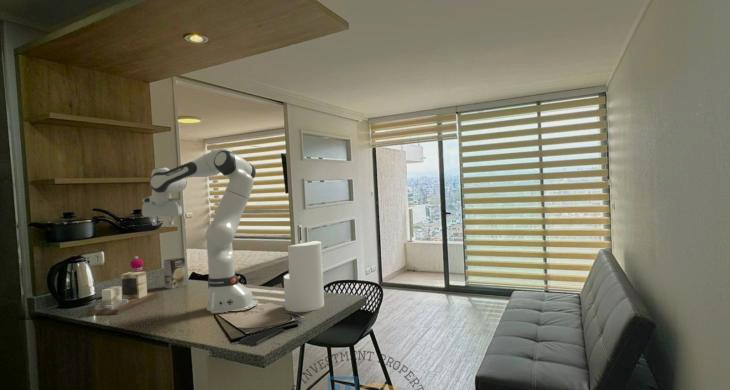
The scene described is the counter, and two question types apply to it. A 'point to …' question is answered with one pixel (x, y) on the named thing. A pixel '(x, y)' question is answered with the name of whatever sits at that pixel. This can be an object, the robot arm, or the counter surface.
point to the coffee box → (174, 273)
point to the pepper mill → (136, 264)
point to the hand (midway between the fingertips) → (162, 225)
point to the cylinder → (304, 278)
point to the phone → (261, 337)
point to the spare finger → (111, 295)
